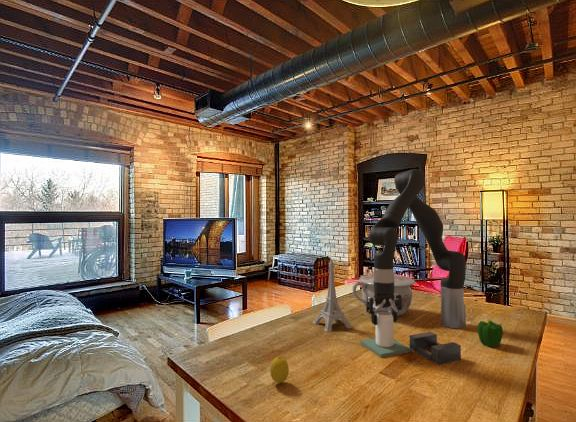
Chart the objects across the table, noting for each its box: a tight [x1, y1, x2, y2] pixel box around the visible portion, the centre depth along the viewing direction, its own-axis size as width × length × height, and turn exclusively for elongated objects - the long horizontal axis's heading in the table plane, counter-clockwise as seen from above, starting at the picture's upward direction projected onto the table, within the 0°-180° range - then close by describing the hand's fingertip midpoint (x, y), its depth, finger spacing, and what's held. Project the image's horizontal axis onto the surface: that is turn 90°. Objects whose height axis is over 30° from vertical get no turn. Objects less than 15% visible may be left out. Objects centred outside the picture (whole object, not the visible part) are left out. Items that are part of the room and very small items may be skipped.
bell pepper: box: [476, 319, 504, 348], centre depth 122 cm, size 8×8×10 cm
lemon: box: [269, 356, 290, 385], centre depth 95 cm, size 6×6×8 cm
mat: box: [359, 337, 412, 358], centre depth 120 cm, size 13×13×1 cm
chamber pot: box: [351, 273, 416, 317], centre depth 162 cm, size 28×28×21 cm
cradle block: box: [409, 331, 462, 366], centre depth 114 cm, size 11×14×5 cm
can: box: [374, 310, 395, 348], centre depth 120 cm, size 6×6×12 cm
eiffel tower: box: [312, 258, 353, 333], centre depth 145 cm, size 13×13×30 cm
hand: (384, 323), depth 120 cm, fingers open, 8 cm apart
